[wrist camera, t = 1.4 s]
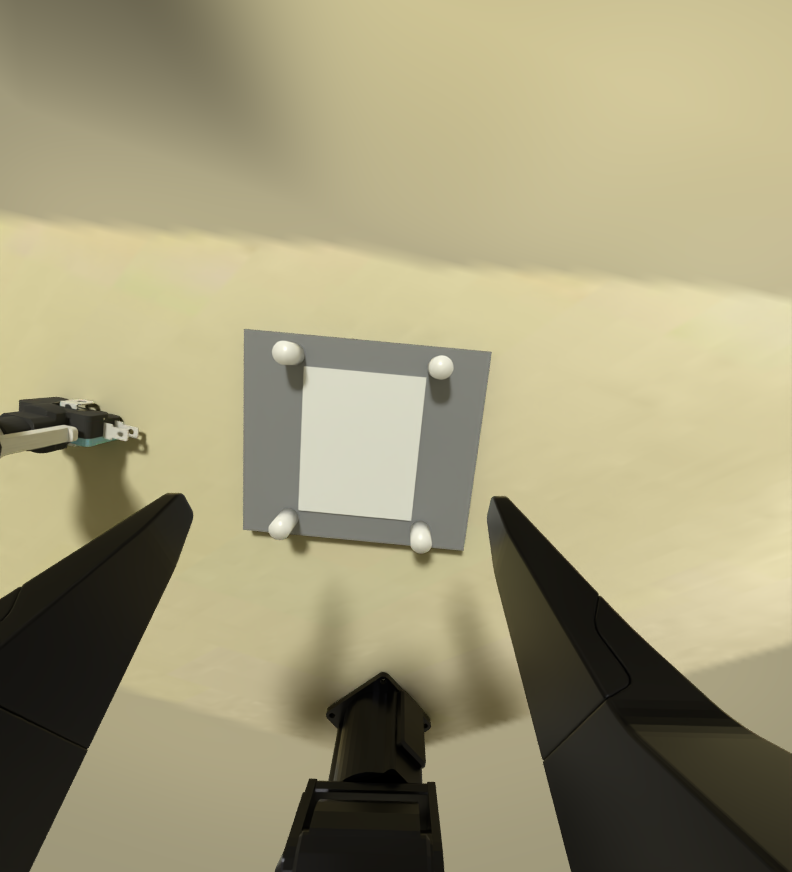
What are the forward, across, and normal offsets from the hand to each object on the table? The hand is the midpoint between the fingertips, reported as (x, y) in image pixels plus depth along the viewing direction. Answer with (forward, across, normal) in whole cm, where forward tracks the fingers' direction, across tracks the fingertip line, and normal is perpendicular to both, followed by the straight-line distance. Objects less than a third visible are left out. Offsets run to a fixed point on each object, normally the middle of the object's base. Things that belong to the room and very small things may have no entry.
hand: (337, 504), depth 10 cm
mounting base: (+13, +1, +7) cm, 15 cm away
